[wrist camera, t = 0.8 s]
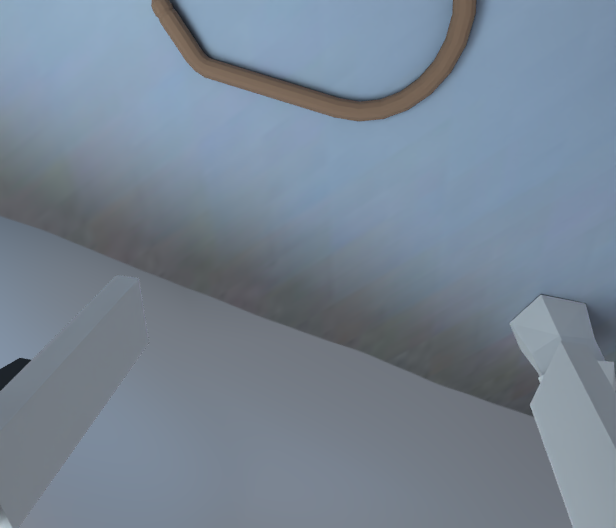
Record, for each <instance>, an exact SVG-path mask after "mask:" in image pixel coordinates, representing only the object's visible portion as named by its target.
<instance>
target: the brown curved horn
mask: <svg viewBox="0 0 616 528" xmlns="http://www.w3.org/2000/svg"><path fill="white" fill-rule="evenodd" d="M151 6H152V9H153V11H154V13H155V15H156V16H157V17H158V18H159V20H160V23H161V24H162V26H163V27H164V29H165V30H166V32H167V33H168V35H169V36H170V38H171V39H172V41H173V42H174V44H175V45H176V47H177V48H178V50H179V51H180V53H181V54H182V56H183V57H184V59H185V60H186V62H187V63H188V64H189V65H190V66H191V67H192V68H193V69H194V70H195V71H196V72H198V73H199V74H201V75H202V76H204V77H206V78H209V79H212V80H215V81H218V82H222V83H225V84H228V85H231V86H235V87H238V88H241V89H244V90H248V91H251V92H254V93H257V94H261V95H264V96H267V97H270V98H274V99H277V100H280V101H283V102H287V103H290V104H293V105H296V106H300V107H303V108H306V109H309V110H313V111H316V112H319V113H322V114H326V115H329V116H332V117H336V118H342V119H348V120H354V121H367V120H378V119H385V118H387V117H390V116H393V115H395V114H398V113H401V112H404V111H406V110H409V109H410V108H412V107H413V106H414V105H416V104H417V103H419V102H420V101H422V100H423V99H425V98H426V97H428V96H429V95H431V94H432V93H433V92H434V90H435V89H436V88H437V87H438V86H439V85H440V84H441V83H442V82H443V81H444V79H445V78H446V77H447V76H448V75H449V74H450V73H451V71H452V70H453V68H454V66H455V64H456V62H457V61H458V59H459V57H460V55H461V54H462V52H463V50H464V48H465V46H466V44H467V41H468V37H469V34H470V31H471V27H472V24H473V20H474V17H475V14H476V0H453V13H452V17H451V21H450V24H449V28H448V32H447V36H446V39H445V41H444V43H443V45H442V47H441V48H440V50H439V52H438V54H437V56H436V58H435V60H434V61H433V63H432V64H431V65H430V66H429V67H428V68H427V69H426V71H425V72H424V73H423V74H422V75H421V76H420V77H419V79H417V80H416V81H415V82H413V83H412V84H410V85H409V86H407V87H406V88H405V89H403V90H402V91H400V92H398V93H396V94H393V95H390V96H388V97H385V98H383V99H380V100H371V101H361V102H359V101H353V100H347V99H341V98H337V97H334V96H331V95H327V94H324V93H321V92H318V91H314V90H311V89H308V88H305V87H301V86H298V85H295V84H292V83H288V82H285V81H282V80H279V79H275V78H272V77H269V76H266V75H263V74H259V73H256V72H253V71H250V70H246V69H243V68H240V67H237V66H233V65H230V64H227V63H224V62H220V61H217V60H214V59H211V58H209V57H208V56H206V55H205V53H204V52H203V51H202V49H201V48H200V46H199V45H198V43H197V42H196V40H195V39H194V37H193V36H192V34H191V33H190V31H189V30H188V28H187V27H186V25H185V24H184V22H183V21H182V19H181V18H180V16H179V14H178V13H177V11H176V10H174V9H173V5H172V4H171V2H170V1H169V0H152V5H151Z"/></svg>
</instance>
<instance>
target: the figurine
mask: <svg viewBox="0 0 616 528" xmlns="http://www.w3.org/2000/svg"><path fill="white" fill-rule="evenodd" d="M509 324H510V326H511V328H512V331H513V333H514V335H515V338H516V340H517V343H518V345H519V347H520V349H521V351H522V352H523V353H524V355H525V356H526V357H527V359H528V360H529V361H530V363H531V364H532V365H533V367H534V368H535V369H536V371H537V372H538V374H539V376H540V377H539V378H538V379H539V382H540V383H541V381H542V379H543V377H544V375H545V372H546V370H547V368H548V366H549V364H550V362H551V360H552V358H553V356H554V354H555V352H556V350H557V347H558V345H559V343H560V341H565V342H572V343H579V344H585V345H588V346H589V348H590V349H591V351H592V353H593V354H594V356H595V358H596V360H597V361H598V363H599V365H600V366H601V368H602V370H603V372H604V373H605V375H606V377H607V379H608V380H609V382H610V384H611V385H612V387H613V389H614V391H615V390H616V380H615V369H614V362H609V361H605V359H604V357H603V355H602V353H601V351H600V349H599V346H598V344H597V342H596V340H595V338H594V334H593V330H592V326H591V323H590V319H589V315H588V311H587V307H586V304H585V303H580V302H575V301H570V300H565V299H560V298H555V297H550V296H545V295H540V296H539V297H538V298H537V299H535V300H534V301H533V302H532V303H531V304H530V305H529V306H528V307H527V308H525V309H524V310H523V311H522V312H521V313H520V314H519V315H518V316H517V317H515V318H514V319H513V320H512V321H511V322H510V323H509Z"/></svg>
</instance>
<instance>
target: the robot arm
mask: <svg viewBox="0 0 616 528" xmlns="http://www.w3.org/2000/svg"><path fill="white" fill-rule="evenodd" d="M148 344H149V337H148V331H147V324H146V318H145V312H144V305H143V299H142V292H141V286H140V280H139V278H135V277H128V276H122V275H116V276H115V277H114V278H113V279H112V280H111V281H110V282H109V283H108V284H107V285H106V286H105V287H104V288H103V289H102V290H101V291H100V292H99V293H98V294H97V296H95V297H94V298H93V299H92V300H91V301H90V302H89V303H88V304H87V305H86V306H85V307H84V308H83V309H82V310H81V311H80V312H79V313H78V314H77V315H76V316H75V317H74V318H73V319H72V320H71V321H70V322H69V323H68V324H67V325H66V326H65V327H64V328H63V329H62V330H61V331H60V332H59V333H58V334H57V335H56V336H55V337H54V338H53V339H52V340H51V341H50V342H49V343H48V344H47V345H46V346H45V347H44V348H43V349H42V350H41V351H40V352H39V353H38V354H37V355H36V356H35V357H34V358H33V359H32V360H28V359H23V358H19V359H17V360H15V361H14V362H12V363H10V364H8V365H7V366H5V367H3V368H1V369H0V528H19V527H20V525H21V524H22V522H23V521H24V519H25V518H26V517H27V515H28V514H29V512H30V511H31V510H32V508H33V507H34V505H35V504H36V503H37V501H38V500H39V498H40V497H41V496H42V494H43V493H44V491H45V490H46V488H47V487H48V486H49V484H50V483H51V481H52V480H53V478H54V477H55V476H56V474H57V473H58V471H59V470H60V469H61V467H62V466H63V464H64V463H65V461H66V460H67V459H68V457H69V456H70V454H71V453H72V452H73V450H74V449H75V447H76V446H77V444H78V443H79V441H80V440H81V439H82V437H83V436H84V434H85V433H86V432H87V430H88V428H89V427H90V426H91V425H92V423H93V421H94V420H95V419H96V417H97V416H98V415H99V413H100V412H101V410H102V409H103V408H104V406H105V405H106V403H107V402H108V401H109V399H110V398H111V396H112V395H113V393H114V392H115V391H116V389H117V388H118V386H119V385H120V384H121V382H122V381H123V379H124V378H125V376H126V375H127V374H128V372H129V371H130V369H131V368H132V366H133V365H134V364H135V362H136V361H137V359H138V358H139V356H140V355H141V354H142V352H143V351H144V349H145V348H146V347H147V345H148ZM530 407H531V409H532V412H533V415H534V418H535V421H536V424H537V427H538V429H539V432H540V435H541V438H542V441H543V444H544V446H545V449H546V452H547V455H548V458H549V461H550V464H551V466H552V469H553V472H554V475H555V478H556V480H557V483H558V486H559V489H560V492H561V495H562V498H563V501H564V503H565V506H566V509H567V512H568V515H569V518H570V521H571V523H572V526H573V528H616V392H615V391H614V389H613V387H612V385H611V384H610V382H609V380H608V379H607V377H606V375H605V373H604V372H603V370H602V368H601V366H600V365H599V363H598V361H597V360H596V358H595V356H594V354H593V353H592V351H591V349H590V348H589V346H588V345H585V344H579V343H572V342H565V341H560V343H559V345H558V347H557V350H556V352H555V354H554V356H553V358H552V360H551V362H550V364H549V366H548V368H547V370H546V372H545V375H544V377H543V379H542V381H541V383H540V385H539V387H538V389H537V391H536V393H535V395H534V397H533V400H532V402H531V404H530Z"/></svg>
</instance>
